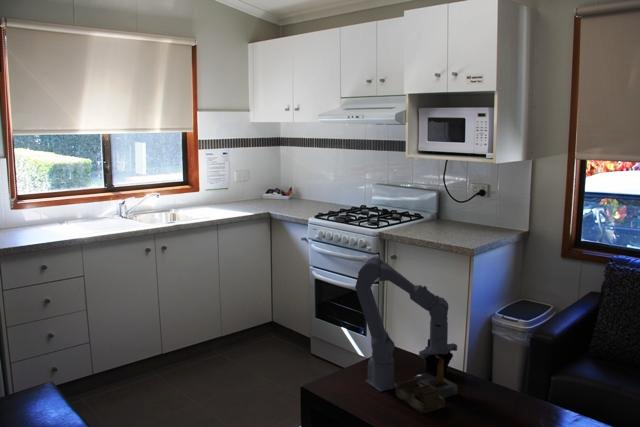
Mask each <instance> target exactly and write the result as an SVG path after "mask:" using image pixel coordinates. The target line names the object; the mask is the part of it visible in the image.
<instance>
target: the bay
mask: <svg viewBox="0 0 640 427" xmlns="http://www.w3.org/2000/svg"><path fill="white" fill-rule="evenodd" d="M397 384H398V387H397V388H395V397H396V398H398V399H400V400H401V401H403V402H404V403H405V404H407V405H408V406H410V407H411V408H413V409H414V410H415V411H417V412H418V413H420V414H422V415H423V414H427V413H430V412H433V411H437V410H440V409H443V408H445V407H446V397H445V398H443V397H441V396H440V395H439V406H437V407H434V408H430V409H427V410H426V409H425V405H424V404H423V403H421V402H420V401H418V400H417V399H415V388H418V387H422V386H423V385H422V384H420V383H418V382H417V379H416V378H414V379H413V378H411V379H407V380H406V379H405V380H403V381H399V382H397Z"/></svg>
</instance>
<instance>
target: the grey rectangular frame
mask: <svg viewBox="0 0 640 427" xmlns="http://www.w3.org/2000/svg"><path fill="white" fill-rule="evenodd" d="M414 378H416V379H417V382H418V383H420V384H422V385H423V386H425V385H429V387H431V388H433V389H434V390H437V391H438V392H439V395H440V396H441V397H443V398H445V399H446V398H449V397H453V396H455V395H457V394H458V385H457V384H456V383H454V382H452V381H451V380H448V379H447V378H445V377H444V378H443V382H435V381H433V376H432V375H431V373H430V372H427V373H426V372H424V373H420V374H416V375H413V378H412V379H414Z"/></svg>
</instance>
